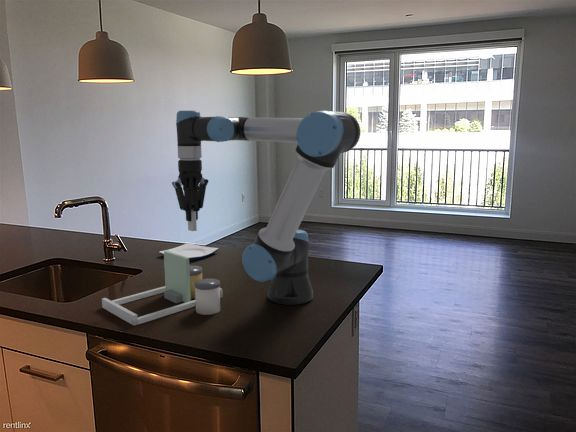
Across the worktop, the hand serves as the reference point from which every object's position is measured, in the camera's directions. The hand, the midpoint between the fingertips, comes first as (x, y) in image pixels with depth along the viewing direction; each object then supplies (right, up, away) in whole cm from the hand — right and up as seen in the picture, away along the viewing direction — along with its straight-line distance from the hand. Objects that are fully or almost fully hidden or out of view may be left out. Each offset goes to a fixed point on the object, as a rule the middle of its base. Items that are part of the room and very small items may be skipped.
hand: (192, 230), depth 160 cm
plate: (-12, -13, +53) cm, 55 cm away
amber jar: (-1, -22, +3) cm, 22 cm away
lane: (-8, -23, -4) cm, 25 cm away
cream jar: (+7, -25, -11) cm, 28 cm away
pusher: (-6, -23, -2) cm, 23 cm away
